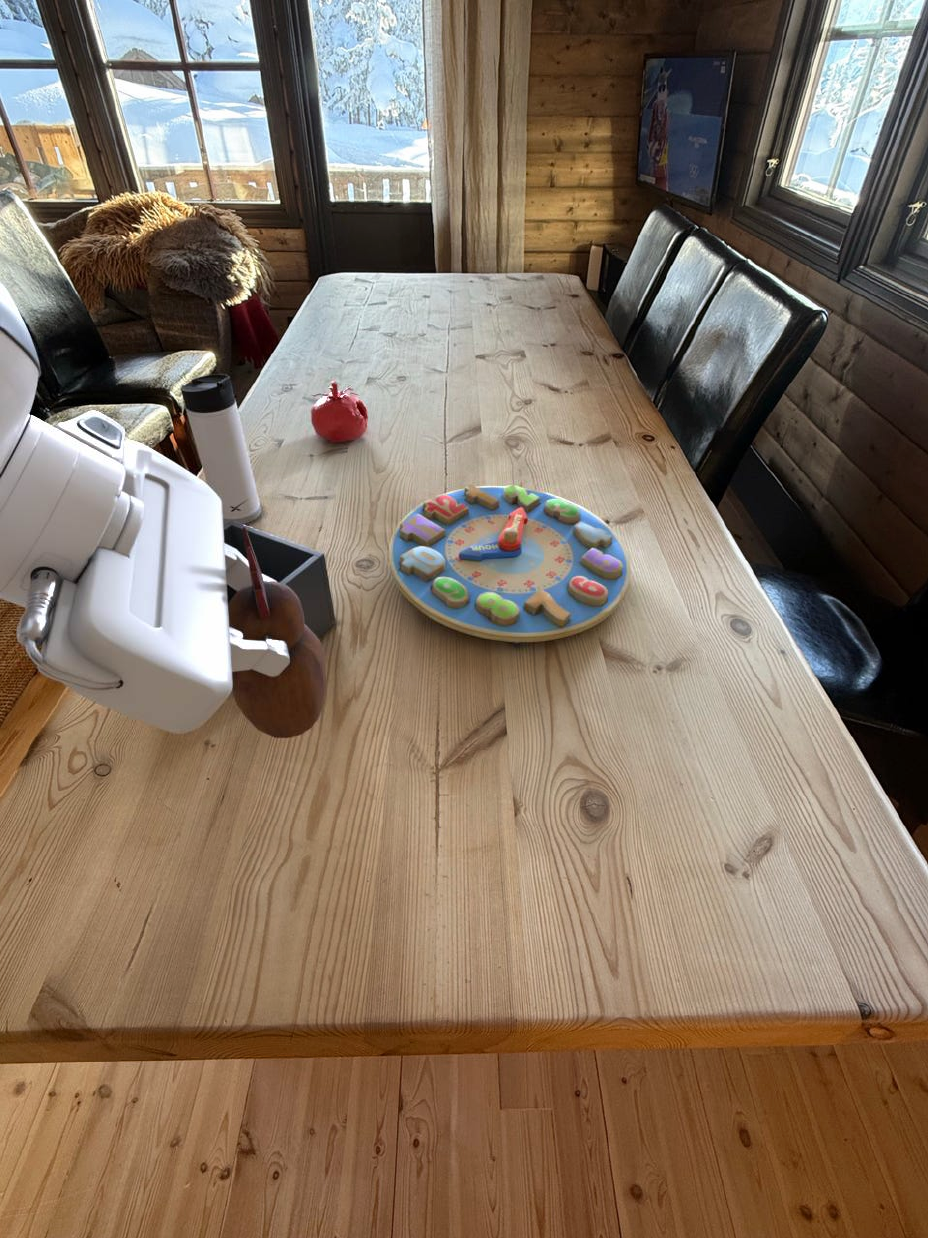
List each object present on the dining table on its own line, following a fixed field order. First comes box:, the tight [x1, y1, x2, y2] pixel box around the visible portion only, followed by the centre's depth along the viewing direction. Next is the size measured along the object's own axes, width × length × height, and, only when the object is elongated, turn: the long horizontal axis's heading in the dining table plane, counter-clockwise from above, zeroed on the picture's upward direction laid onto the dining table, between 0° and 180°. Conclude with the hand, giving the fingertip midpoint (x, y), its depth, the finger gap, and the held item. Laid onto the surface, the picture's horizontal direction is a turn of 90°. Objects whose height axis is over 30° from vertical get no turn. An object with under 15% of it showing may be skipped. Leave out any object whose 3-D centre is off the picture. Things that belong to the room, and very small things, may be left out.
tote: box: [223, 520, 337, 640], centre depth 72 cm, size 14×14×10 cm
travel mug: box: [180, 373, 262, 525], centre depth 89 cm, size 6×7×20 cm
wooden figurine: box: [228, 527, 327, 739], centre depth 43 cm, size 7×6×15 cm
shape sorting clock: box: [388, 484, 632, 645], centre depth 83 cm, size 31×30×6 cm
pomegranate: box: [310, 381, 369, 444], centre depth 112 cm, size 10×10×9 cm
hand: (278, 627), depth 42 cm, fingers closed on wooden figurine, 5 cm apart
